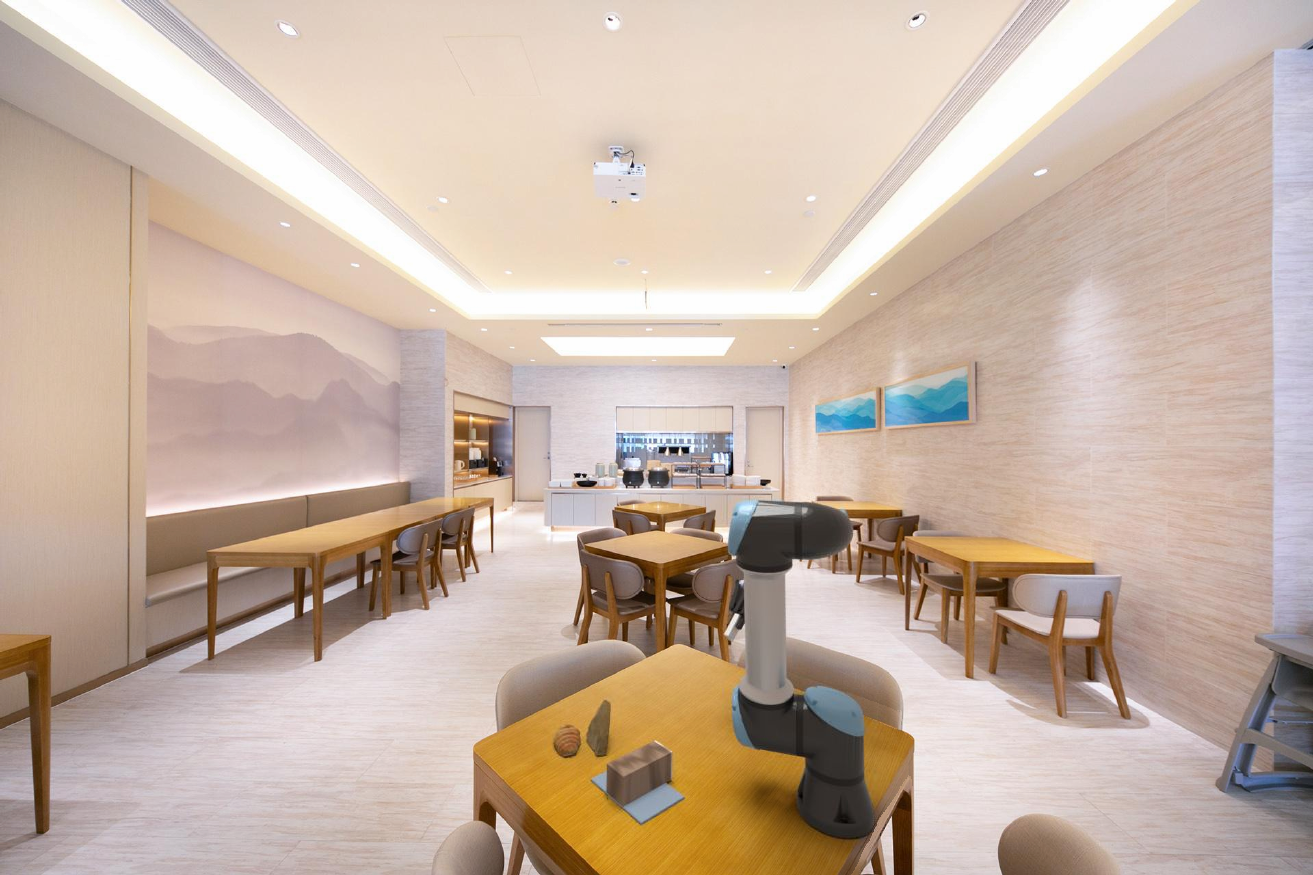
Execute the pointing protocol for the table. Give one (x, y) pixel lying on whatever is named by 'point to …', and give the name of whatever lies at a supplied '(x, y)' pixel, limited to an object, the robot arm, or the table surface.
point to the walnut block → (639, 772)
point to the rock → (600, 729)
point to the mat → (645, 800)
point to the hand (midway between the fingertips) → (728, 637)
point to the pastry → (567, 740)
